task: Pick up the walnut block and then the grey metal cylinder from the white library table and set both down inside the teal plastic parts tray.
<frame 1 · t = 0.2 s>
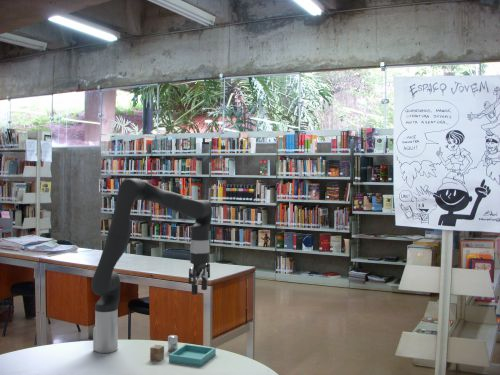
hand: (199, 292, 199), 28 cm above the table, fingers open, 8 cm apart
metal cylinder: (172, 350, 214), on the table
walnut block: (157, 359, 204), on the table
parts tray: (192, 358, 205), on the table
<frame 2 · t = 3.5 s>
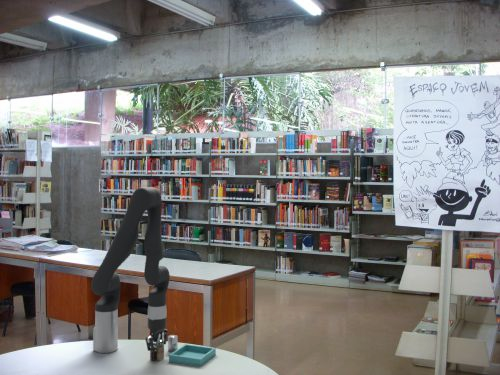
hand: (157, 358, 204), 0 cm above the table, fingers closed on walnut block, 4 cm apart
walnut block: (157, 358, 204), on the table, touching gripper
everything else where it was.
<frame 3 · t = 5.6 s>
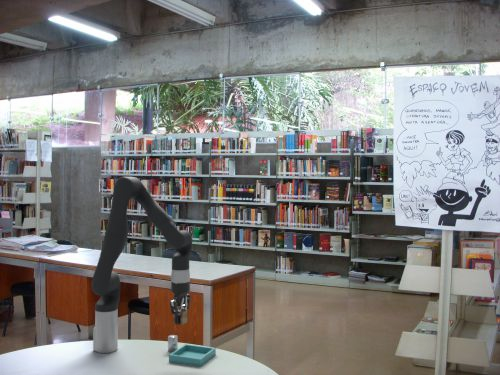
hand: (180, 322, 203), 15 cm above the table, fingers closed on walnut block, 4 cm apart
walnut block: (180, 323, 203), point 15 cm above the table, touching gripper
everything else where it was.
when the fingers open (3 cm above the table, at t = 7.7 s): walnut block drops 2 cm, resting on parts tray.
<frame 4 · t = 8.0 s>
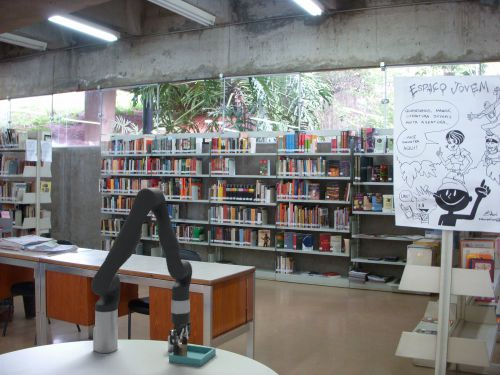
hand: (180, 351, 203), 3 cm above the table, fingers open, 6 cm apart
walnut block: (180, 357, 203), point 1 cm above the table, touching parts tray
everything else where it was.
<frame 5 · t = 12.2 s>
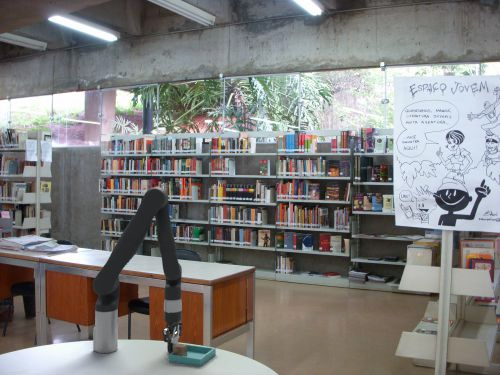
hand: (172, 349, 214), 0 cm above the table, fingers closed on metal cylinder, 4 cm apart
metal cylinder: (172, 350, 214), on the table, touching gripper
everything else where it was.
when the fingers open (3 cm above the table, at t = 16.5 s): metal cylinder drops 2 cm, resting on parts tray.
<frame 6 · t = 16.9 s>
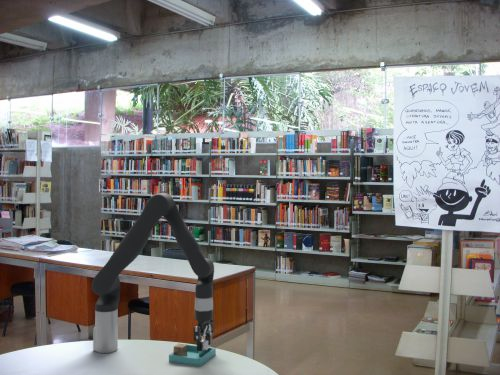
hand: (203, 347, 206), 4 cm above the table, fingers open, 7 cm apart
metal cylinder: (203, 355, 206), point 1 cm above the table, touching parts tray
everything else where it was.
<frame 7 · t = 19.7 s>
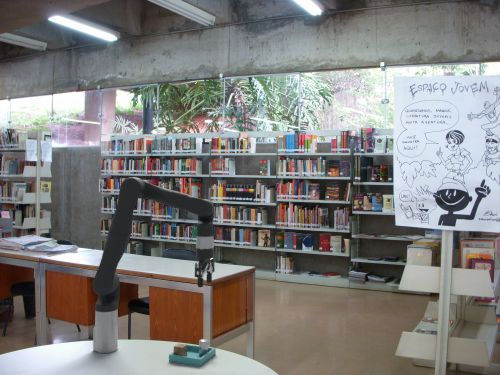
hand: (204, 285, 212), 28 cm above the table, fingers open, 8 cm apart
nothing on the table moved.
at the end: walnut block inside the target area on the parts tray (5.1 cm from its centre), point 0.6 cm above the parts tray's base; metal cylinder inside the target area on the parts tray (4.5 cm from its centre), point 0.7 cm above the parts tray's base; the gripper is holding nothing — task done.
